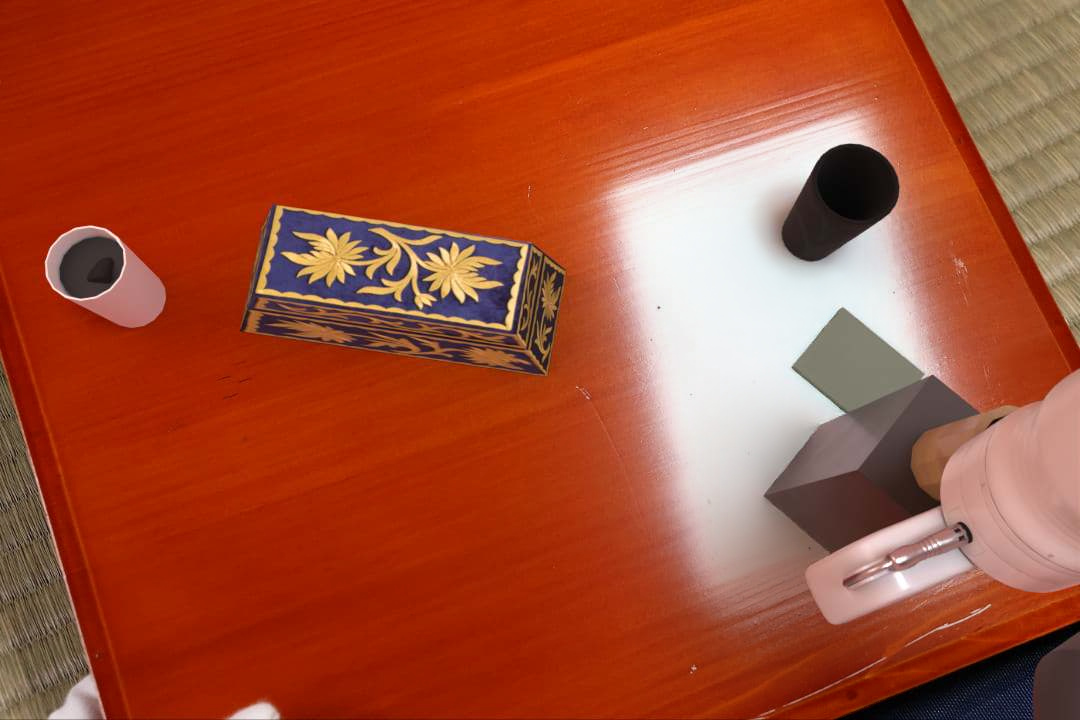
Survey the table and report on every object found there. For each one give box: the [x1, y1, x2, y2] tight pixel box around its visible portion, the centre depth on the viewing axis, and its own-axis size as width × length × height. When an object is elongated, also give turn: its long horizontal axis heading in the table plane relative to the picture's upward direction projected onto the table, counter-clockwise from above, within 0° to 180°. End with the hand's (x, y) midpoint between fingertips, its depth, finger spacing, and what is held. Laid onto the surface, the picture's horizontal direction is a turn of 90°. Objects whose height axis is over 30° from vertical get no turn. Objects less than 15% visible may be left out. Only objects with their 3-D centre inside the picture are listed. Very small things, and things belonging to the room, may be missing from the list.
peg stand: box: [763, 374, 981, 555], centre depth 65 cm, size 9×9×31 cm
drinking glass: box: [44, 225, 167, 329], centre depth 77 cm, size 7×7×10 cm
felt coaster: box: [791, 306, 926, 414], centre depth 83 cm, size 10×8×1 cm
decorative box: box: [239, 204, 567, 377], centre depth 79 cm, size 11×30×9 cm, turn 82°
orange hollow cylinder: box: [911, 404, 1021, 501], centre depth 55 cm, size 5×5×8 cm
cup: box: [780, 142, 901, 262], centre depth 81 cm, size 8×8×12 cm
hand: (913, 560), depth 58 cm, fingers closed
